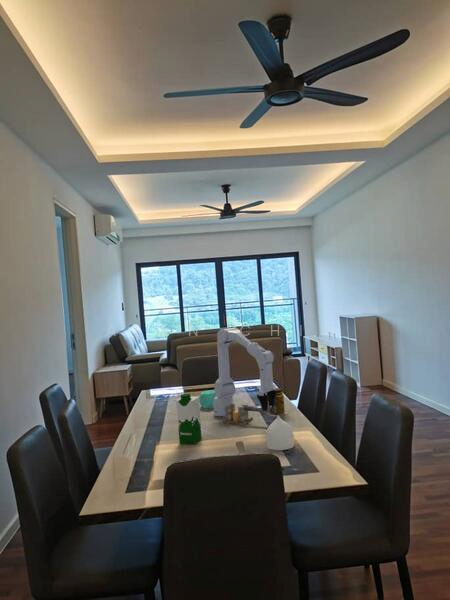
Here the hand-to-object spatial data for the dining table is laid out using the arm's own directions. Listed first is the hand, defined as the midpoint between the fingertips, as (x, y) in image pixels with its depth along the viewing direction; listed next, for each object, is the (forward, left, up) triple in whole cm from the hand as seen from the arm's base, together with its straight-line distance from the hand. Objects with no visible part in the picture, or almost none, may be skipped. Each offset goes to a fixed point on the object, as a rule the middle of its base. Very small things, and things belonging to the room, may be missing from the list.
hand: (268, 408), depth 198 cm
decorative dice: (-44, +21, -8) cm, 50 cm away
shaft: (-4, 0, -3) cm, 5 cm away
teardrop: (+15, -24, -8) cm, 29 cm away
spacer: (-16, 0, -7) cm, 18 cm away
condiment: (-3, +17, -8) cm, 19 cm away
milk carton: (-22, -31, -8) cm, 39 cm away
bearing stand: (-16, 0, -7) cm, 18 cm away
